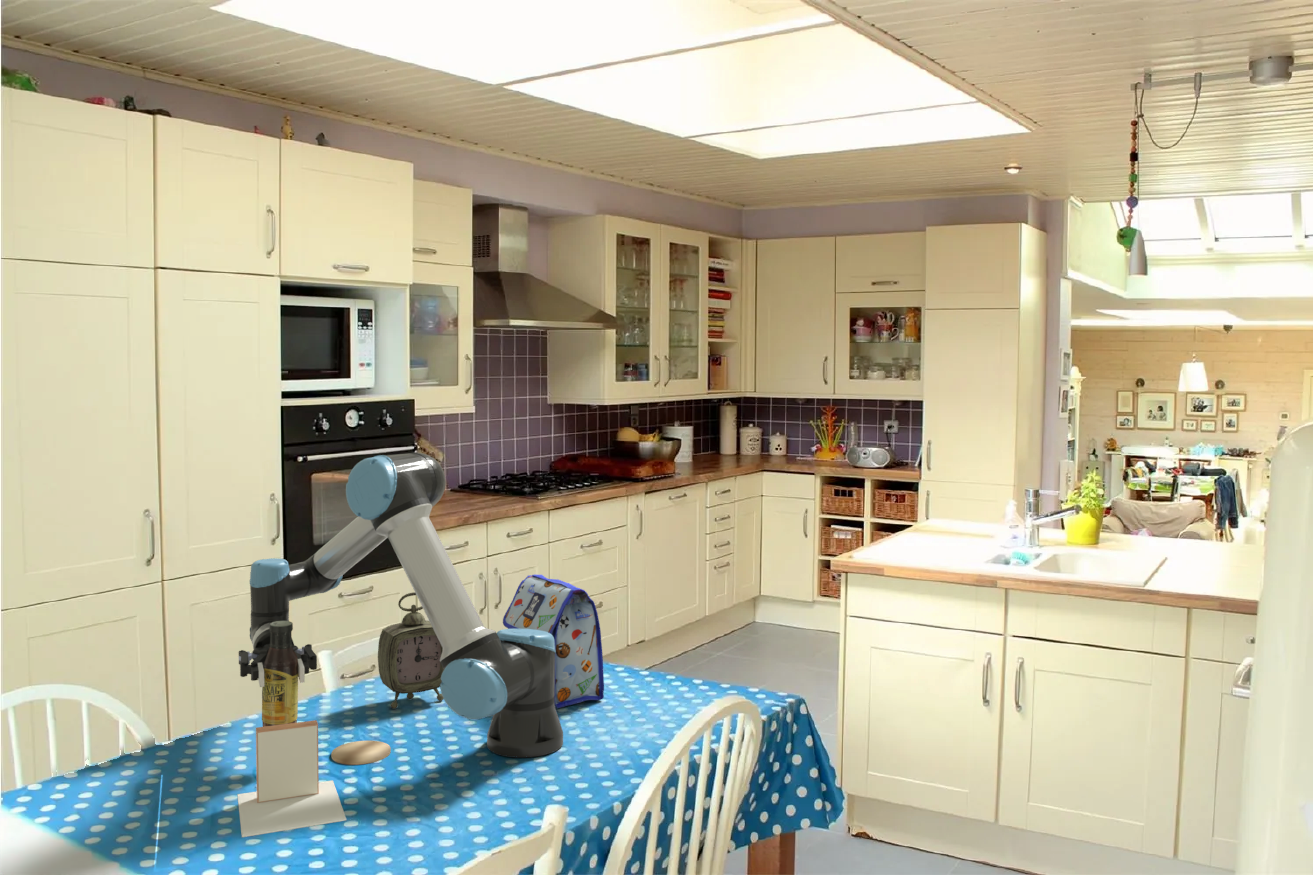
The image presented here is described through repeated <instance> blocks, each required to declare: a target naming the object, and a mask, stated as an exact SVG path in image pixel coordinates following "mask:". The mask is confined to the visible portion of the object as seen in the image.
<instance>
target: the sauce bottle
mask: <svg viewBox="0 0 1313 875" xmlns="http://www.w3.org/2000/svg"><path fill="white" fill-rule="evenodd" d="M293 625H294V624H293V622H292V621H290V620H289V621H275V622H272V623H270V627H269V631H270V647H269V650H268V653H267V657H266V660H265V663H264V666H263V669H264V687H261V688H262V690H261V699H262V700H261V721H262V727H265V726H273V725H281V724H290V723H298V720H297V719H298V714H299V713H298V712H299V711H298V709H299V708H298V706H299V705H298V704H299V677H298V658H297V655H296V653H295V652H294V651H293V648H292V642H291V637H292V631H293V630H294V627H293Z"/></svg>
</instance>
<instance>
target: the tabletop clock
mask: <svg viewBox="0 0 1313 875" xmlns="http://www.w3.org/2000/svg"><path fill="white" fill-rule="evenodd" d="M412 596H417V595H416V593H415V591H413V592H409V593H406V594H404V595H402V596H401V598H400V599H399V600H398V604H397V605H398V608H399V609H401V610H402V611H405V612H408V613H406V614H405V615H404V616H403V618H402V619H401V622H399V623H393V624H390V625H387V626H385V627H383V629H382V630H381V632H380V635H379V639H378V645H377V646H378V648H377V649H378V650H377V663H378V664H377V666H378V674H379V678H380V681H381V682H382V684H383V685H384V686H385V687H387V688H388V689H389V690H390V691H392V692H393V693H394V694H395V695H394V699H393V701H392V702H391V703H390V708H391V709H393V710H395V709H397V708H398V707H399V702H398V698H399V696H400V694H403V695H405V694H406V699H407V700H409V701H410V700H413V699H414V697H415V695H414V693H415V694H416V693H424V692H426V691H432V690H433V691H434V693H436V699H437V701H439V702H442V701H444V698H443V696H442V693H440V691H439V689H440V684H441V682H442V680H441V675H442V673H443V671H444V669H443V667H442V665H441V663H440V657H441V654H442V651H443V648H442V646H441V644H440V642H439V640H438V638H437V636H436V633H435V631H434V629H433V627H432V625H431V623H430V621H429V620H426V617H425V616H424V615H423V614H422V613H421V612H418V611H422V610H424V609H423V607H422V605H421V606H419V607H418V606H417V605H416V604H412V605H411V606H410V608H406V607H403V606H402V605H401V602H402V601H403V600H404V599H405V598H408V597H412Z"/></svg>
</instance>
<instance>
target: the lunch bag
mask: <svg viewBox="0 0 1313 875" xmlns="http://www.w3.org/2000/svg"><path fill="white" fill-rule="evenodd" d="M595 603H596V602H595V601H594V600H593V599H592V598H591V597H590V596H589V594H588V593H587V591H586V590H585V589H582V588H579V587H576V586H575V585H573V584H571V583H570V582H565V581H563V580H561V579H558V578H557V579H553V578H547V577H545V575H543V574H532V575H529V574H528V575H527V576H526V577H525V578H524V579H523V580H521V582H520V583H519V585H518V586H517V589H516V591H515V593H514V596H513V598H512V600H511V603H510V604H509V606H508V608H507V610H506V612H505V614H504V615H503V618H502V624H503V626H504V627H505V629H534V630H541V631H546V632H548V633H550V634H552V636H553V637H554V643H555V650H556V653H555V708H556V709H559V708H564V707H568V706H571V705H572V706H573V705H576V704H579V703H582V702H585V701H601V700H603V699H604V695H605V694H604V691H605V679H604V657H603V656H604V655H603V646H602V632H601V625H600V620H599V619H600V618H599V615H598V611H597V608H596V604H595Z"/></svg>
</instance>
